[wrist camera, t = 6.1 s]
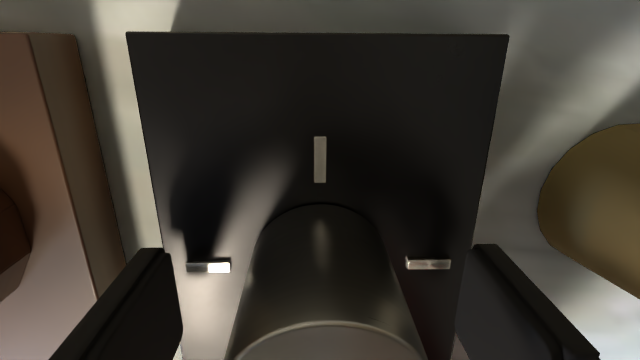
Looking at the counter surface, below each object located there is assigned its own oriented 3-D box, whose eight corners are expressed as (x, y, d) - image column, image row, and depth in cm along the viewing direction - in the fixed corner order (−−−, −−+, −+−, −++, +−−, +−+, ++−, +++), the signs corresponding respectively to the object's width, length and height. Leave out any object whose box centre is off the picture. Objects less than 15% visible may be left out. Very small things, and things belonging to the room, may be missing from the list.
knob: (257, 320, 12) (224, 504, 7) (245, 205, 11) (191, 342, 6) (383, 314, 12) (433, 493, 7) (389, 200, 11) (457, 330, 6)
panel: (167, 34, 12) (120, 30, 9) (464, 36, 12) (514, 33, 9) (211, 353, 17) (190, 419, 14) (420, 349, 17) (443, 412, 14)
